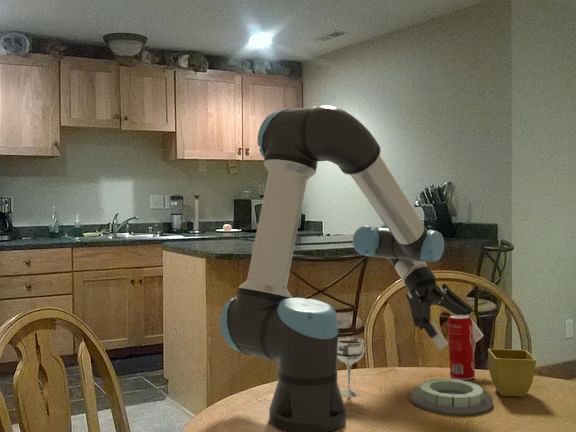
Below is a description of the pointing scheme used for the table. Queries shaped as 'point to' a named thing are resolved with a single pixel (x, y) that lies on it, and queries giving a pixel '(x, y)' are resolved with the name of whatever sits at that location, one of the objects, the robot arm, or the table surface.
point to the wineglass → (350, 358)
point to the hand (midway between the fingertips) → (462, 343)
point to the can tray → (451, 409)
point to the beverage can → (461, 347)
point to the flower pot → (511, 371)
